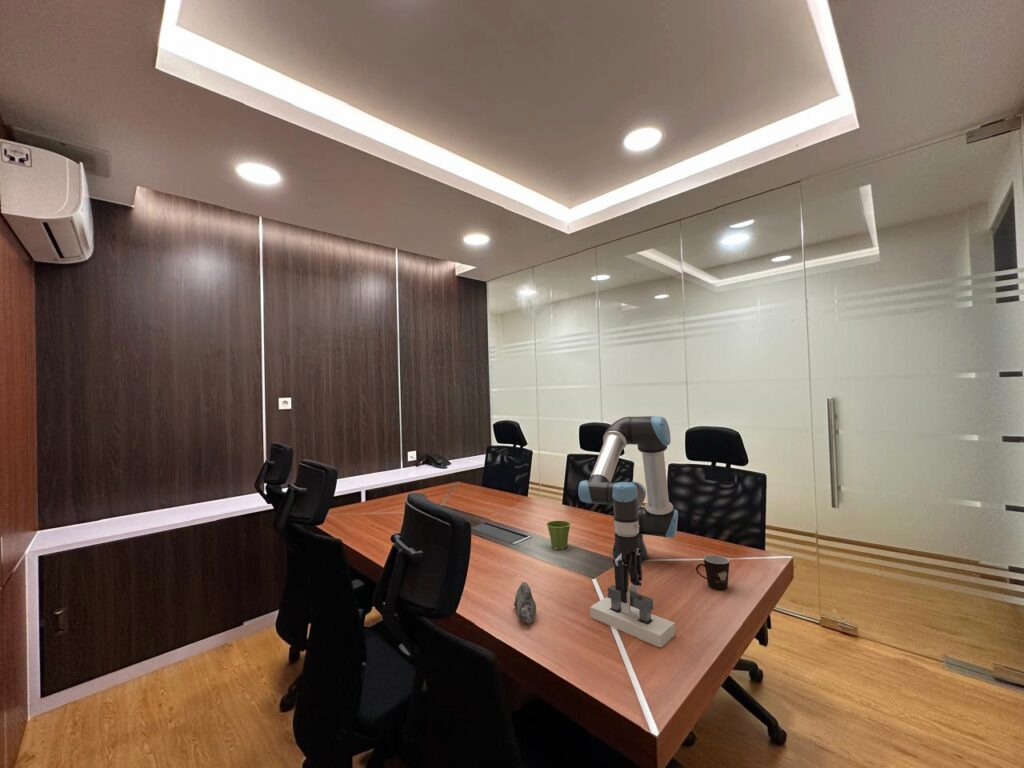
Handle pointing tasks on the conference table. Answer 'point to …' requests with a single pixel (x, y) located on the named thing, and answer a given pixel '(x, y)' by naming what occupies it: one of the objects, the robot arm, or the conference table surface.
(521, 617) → the mineral rock
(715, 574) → the coffee mug
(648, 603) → the dark grey u-shaped bracket
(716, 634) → the conference table surface
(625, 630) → the white slotted block
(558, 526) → the plant pot
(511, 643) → the conference table surface
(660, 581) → the conference table surface
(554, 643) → the conference table surface
